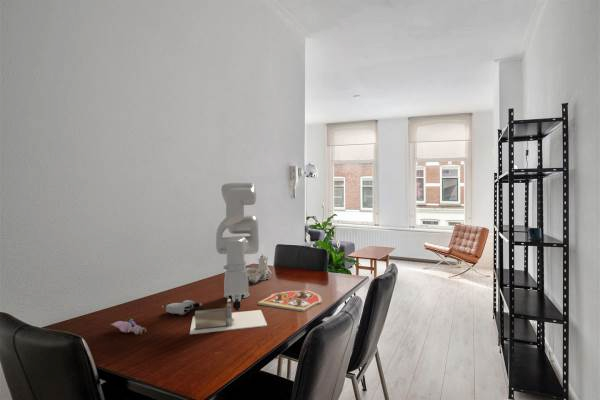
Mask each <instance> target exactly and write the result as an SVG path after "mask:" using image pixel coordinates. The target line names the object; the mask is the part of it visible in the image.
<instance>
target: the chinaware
mask: <svg viewBox="0 0 600 400" xmlns="http://www.w3.org/2000/svg"><path fill="white" fill-rule="evenodd" d="M257 258H258V259H257V260H258V267H246V271H247V276H248V281H250V282H251V283H252V284H257V283H258V282H259V281H266V279H268V280H270V279H269V278H271V276H272V274H273V273H272V271H271V269H270V268H269V266H268V259H269V257H267V256H266V255H265V254H264V253H261V255H260V256H259V257H257ZM256 282H257V283H256Z"/></svg>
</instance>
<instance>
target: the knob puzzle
mask: <svg viewBox="0 0 600 400" xmlns="http://www.w3.org/2000/svg"><path fill="white" fill-rule="evenodd" d="M322 303H323V299H322V297H321V295H320V294H318V293H316V292H314V291H311V290H309V289H308V290H288V291H281V292H276V293H275V292H274V293H270V295H269V296H268V297H266V298H264V299H262V300H259V301H258V302H257V305H258V306H264V307H271V308H275V309H276V308H278V309H283V310H290V311H297V312H303V313H304V312H306V311H308V310H310V309H312V308H314V307H315V306H317V305H322Z"/></svg>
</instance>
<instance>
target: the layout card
mask: <svg viewBox="0 0 600 400" xmlns="http://www.w3.org/2000/svg"><path fill="white" fill-rule="evenodd" d="M262 327H268V324H267V321H266V318H265V316H264V314H263V312H262V309H258V310H257V309H256V310H255V309H254V310H247V311H235V312H232V326H230V327H227V326H226V325H225V326H216V327H206V328H197V329H196V327H195V315H193V316H192V320H191V325H190V331H189V335H197V334H206V333H213V332H214V333H215V332H223V331H234V330H243V329H252V328H262Z"/></svg>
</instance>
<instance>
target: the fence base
mask: <svg viewBox="0 0 600 400" xmlns="http://www.w3.org/2000/svg"><path fill="white" fill-rule="evenodd" d="M232 307H233V306H231V307H227V306H226V307H223V308H211V309H203V310H202V309H201V310H195V312H194V316H195V327H196V329H197V328H206V327H216V326H225V325H226V326H227V327H230V326H232V313H233V311H232V310H233V309H232Z"/></svg>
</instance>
